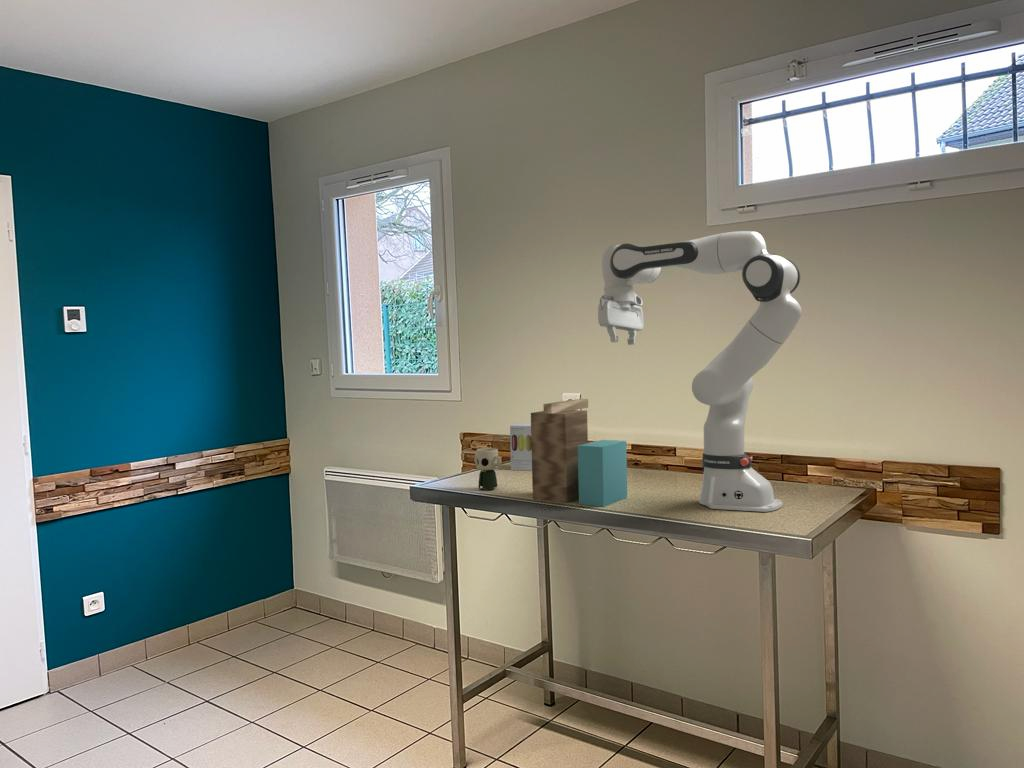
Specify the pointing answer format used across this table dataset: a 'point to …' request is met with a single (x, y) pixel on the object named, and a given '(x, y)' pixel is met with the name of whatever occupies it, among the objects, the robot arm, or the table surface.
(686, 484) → the table surface
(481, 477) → the character mug
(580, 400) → the baton
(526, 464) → the supplement box
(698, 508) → the table surface
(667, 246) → the robot arm
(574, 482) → the pillar
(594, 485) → the teal rectangular block
